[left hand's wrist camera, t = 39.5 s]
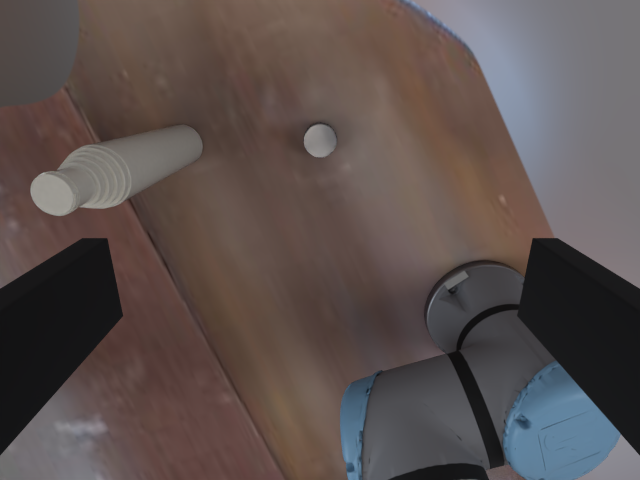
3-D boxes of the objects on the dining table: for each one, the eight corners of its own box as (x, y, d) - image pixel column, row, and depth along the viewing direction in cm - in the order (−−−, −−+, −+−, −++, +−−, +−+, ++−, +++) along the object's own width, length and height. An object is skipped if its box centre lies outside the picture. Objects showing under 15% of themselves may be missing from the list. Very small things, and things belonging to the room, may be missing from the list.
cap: (340, 149, 49) (341, 152, 47) (309, 159, 49) (309, 162, 47) (330, 117, 47) (331, 119, 45) (299, 128, 48) (298, 129, 46)
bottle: (163, 162, 49) (17, 227, 25) (162, 121, 47) (5, 151, 24) (202, 166, 49) (93, 235, 26) (203, 126, 48) (87, 161, 24)
